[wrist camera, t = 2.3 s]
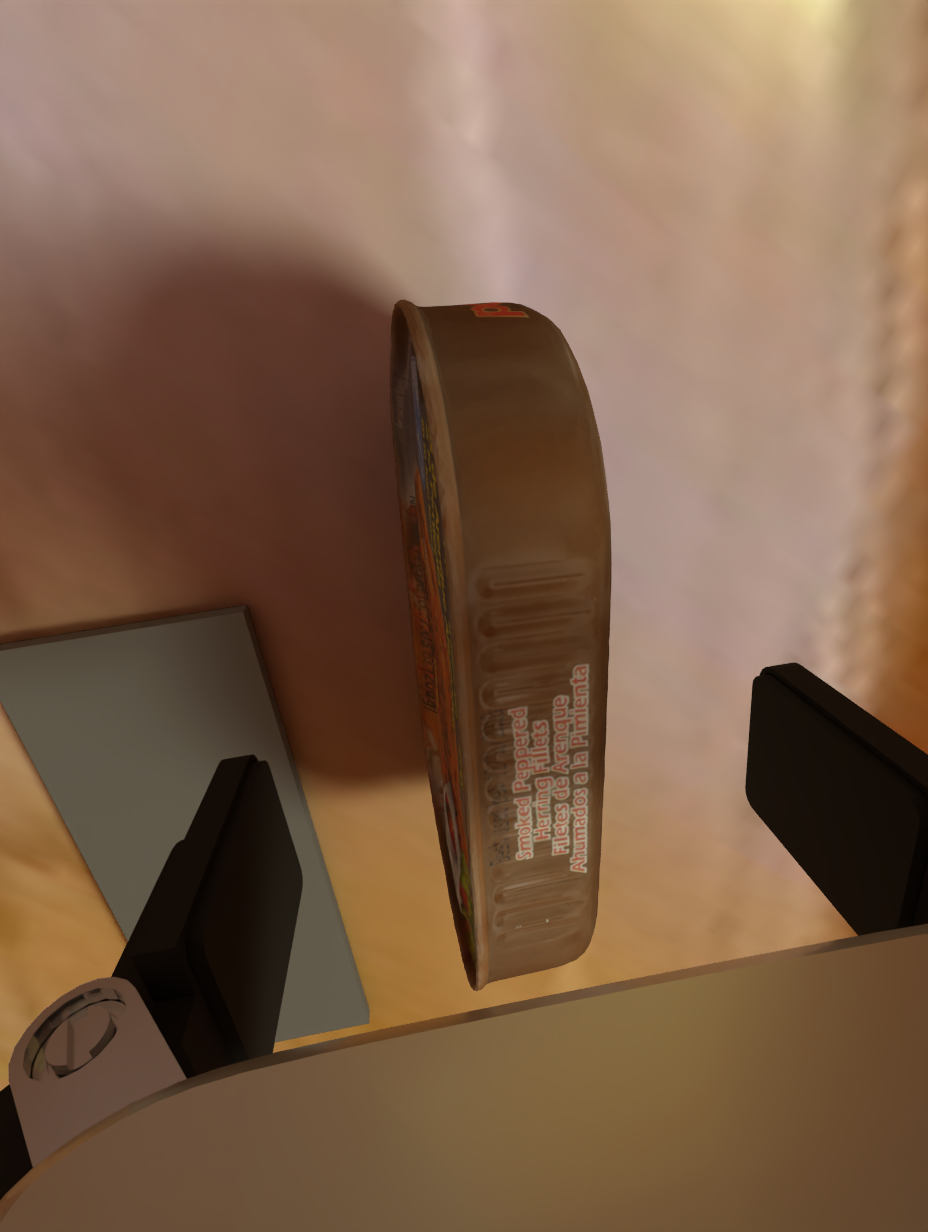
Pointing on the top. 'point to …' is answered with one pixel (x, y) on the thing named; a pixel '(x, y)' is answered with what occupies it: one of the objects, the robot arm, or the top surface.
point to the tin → (506, 621)
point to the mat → (173, 771)
